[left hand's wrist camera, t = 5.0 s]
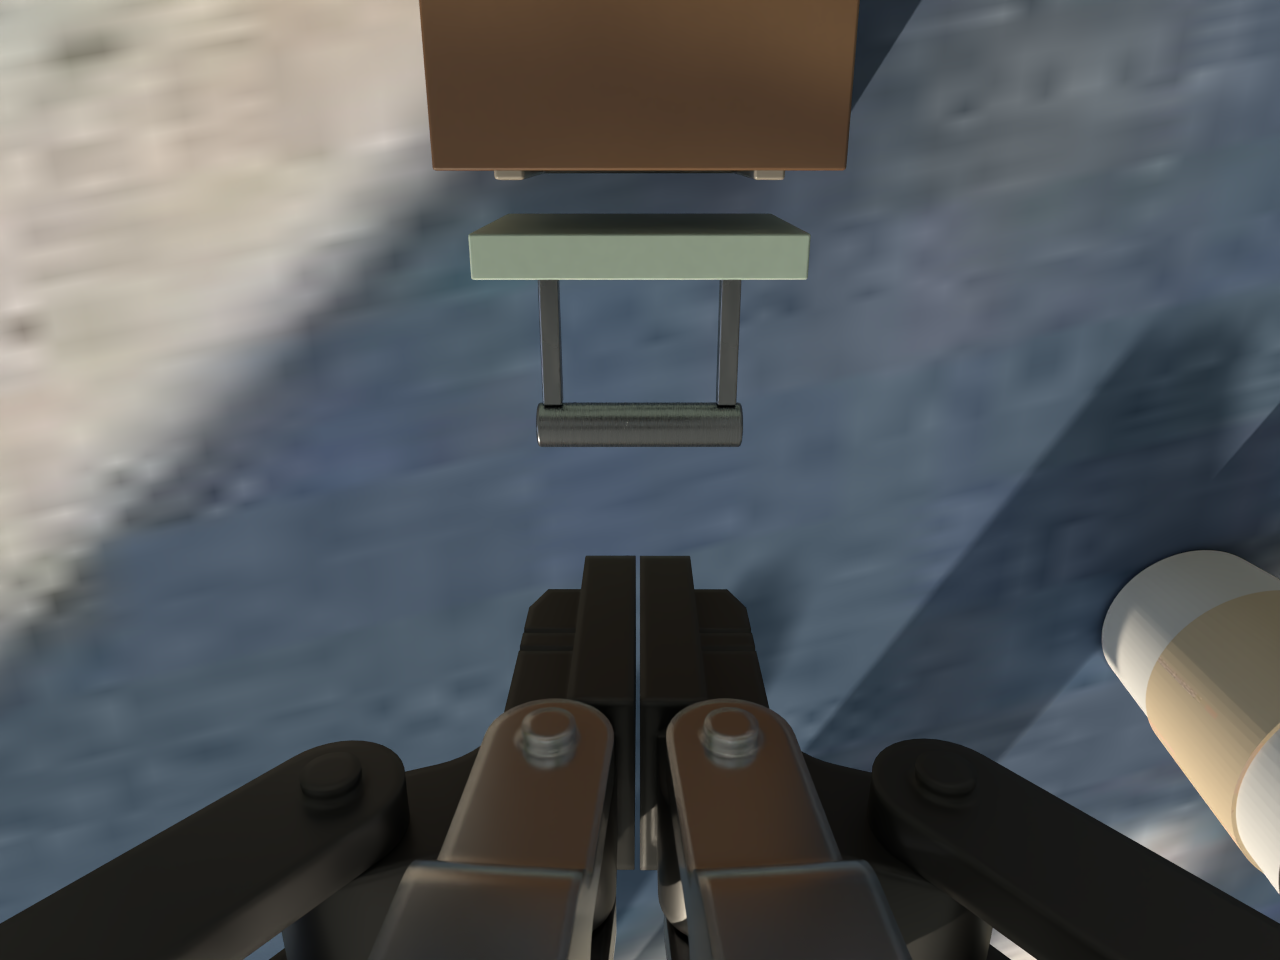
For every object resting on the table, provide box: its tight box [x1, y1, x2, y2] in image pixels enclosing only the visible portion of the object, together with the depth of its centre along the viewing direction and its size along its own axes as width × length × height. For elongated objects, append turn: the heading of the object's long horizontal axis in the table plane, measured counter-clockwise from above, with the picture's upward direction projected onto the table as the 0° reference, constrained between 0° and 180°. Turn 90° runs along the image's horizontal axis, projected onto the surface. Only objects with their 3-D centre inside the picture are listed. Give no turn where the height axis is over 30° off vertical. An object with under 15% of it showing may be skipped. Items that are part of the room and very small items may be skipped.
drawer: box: [469, 170, 810, 447], centre depth 25 cm, size 20×9×7 cm, turn 0°
